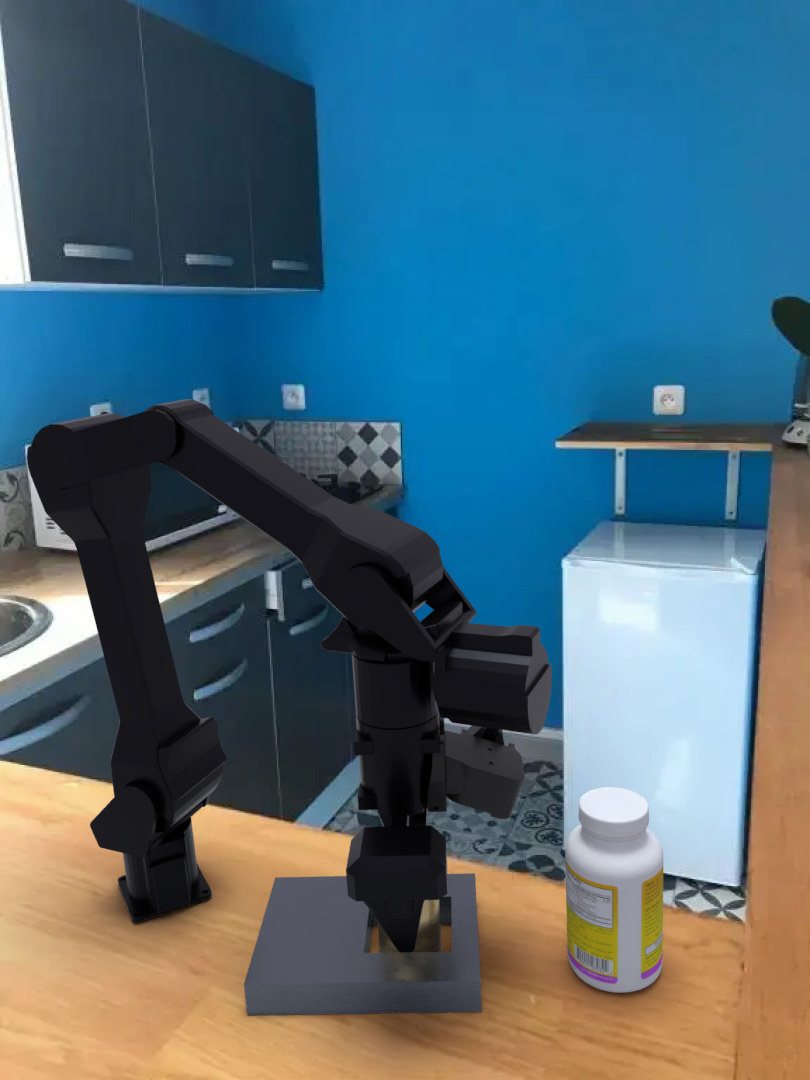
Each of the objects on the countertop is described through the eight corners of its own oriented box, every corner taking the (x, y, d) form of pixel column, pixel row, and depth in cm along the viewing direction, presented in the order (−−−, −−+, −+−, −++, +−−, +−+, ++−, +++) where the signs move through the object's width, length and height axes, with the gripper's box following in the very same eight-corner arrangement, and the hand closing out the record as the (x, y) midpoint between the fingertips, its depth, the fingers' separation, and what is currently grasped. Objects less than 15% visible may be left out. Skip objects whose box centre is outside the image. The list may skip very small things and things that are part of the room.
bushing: (369, 946, 70) (363, 864, 68) (423, 925, 72) (418, 844, 70) (397, 983, 66) (391, 897, 64) (453, 960, 68) (449, 875, 66)
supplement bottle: (647, 930, 70) (649, 776, 67) (674, 994, 64) (678, 826, 60) (558, 936, 70) (556, 782, 67) (577, 1001, 64) (575, 833, 60)
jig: (247, 1015, 64) (243, 984, 63) (277, 904, 75) (275, 877, 75) (481, 1012, 63) (480, 980, 62) (476, 900, 75) (475, 873, 74)
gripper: (526, 775, 55) (531, 1000, 59) (506, 656, 73) (511, 834, 77) (337, 780, 55) (354, 1002, 59) (364, 661, 73) (376, 837, 77)
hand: (408, 908), depth 68 cm, fingers open, 9 cm apart
